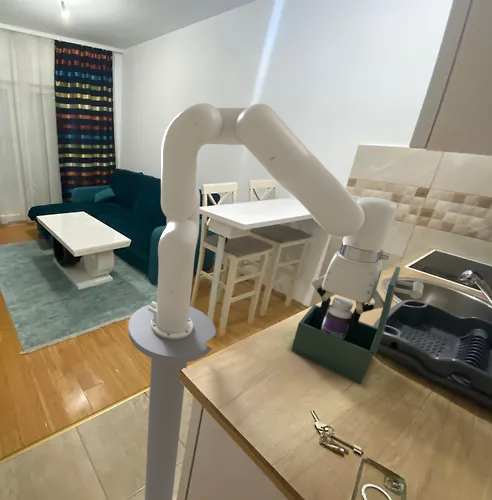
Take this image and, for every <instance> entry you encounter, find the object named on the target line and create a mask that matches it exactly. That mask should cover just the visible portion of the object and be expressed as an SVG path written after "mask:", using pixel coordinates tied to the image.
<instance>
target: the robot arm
mask: <svg viewBox="0 0 492 500" xmlns="http://www.w3.org/2000/svg"><path fill="white" fill-rule="evenodd" d="M204 145H205V146H206V145H225V146H226V145H227V146H233V145H234V146H241V145H242V146H244V147H245V148H246V149H247V150H248V151H249V153H251V154H252V156H253V157H254V158H255V159H256V160H257V161H258V162H259V163H260V165H261V166H262V167H263V168H264V169H265V170H266V171H267V172H268V173H269V175H270V176H271V178H273V179H274V180H275V181H276V182H277V183H278V185H280V186H281V187H282V188H283V189H284V190H286V191H287V192H288V193H290V194H291V195H292V196H293V197H294V198H295V199H296V200H297V201H298V202H299V203H300V204H301V205H302V206H303V207H304V208H305V209H306V210H307V211H308V213H309V214H310V216H311V218H312V219H313V221H314V222H315V223H316V224H317V225H319V226H320V227H321V228H322V229H323V230H324V231H325V232H326V233H327V234H329V235H331V236H334V237H339V238H343V239H342V242H341V244H340V248H339V250H337V251H336V252H335V253H334V255H333V256H332V258H331V261H330V262H329V265H328V267H327V270H326V272H325V274H324V275H321V276H319V277H318V278H316V279H313V280H312V281H311V285H312V287H314V288H315V290H316V292H317V293H318V295H319V297H320V298H321V304H320V310H322V313H321V315H325V314H326V311H327V308H328V306H329V305H331V301H332V299H331V296H332V295H336V296H338V297H341V298H344V299H347V300H350V301H354V302H355V308H354V310H353V311H352V313H353V314H352V317H351V320H350V323H349V325H350V326H351V327H352V326H353V324H354V323H358V321H360V318H361V315H362V314H363V313H366V312H370V311H373V310H377V309H383V305H384V301H385V300H384V299H383V297H382V296H381V295H380V293H379V291H378V290H377V288H378V286H379V282H380V278H381V275H382V269H383V262H382V261H383V260H385V261H388V260H389V257H390V253H386V252H385V251H384V247H385V245H386V241H387V238H388V237H389V233H390V231H391V227H392V225H393V222H394V219H395V217H396V214H397V211H398V205H397V203H396V202H395V201H393V200H390V199H386V198H381V197H368V196H365V197H358V196H357V197H356V196H353V195H352V194H351V192H349V190H347V188H346V187H345V186H344V184H343V183H342V182H340V180H338V179H337V177H335V175H333V173H331V171H330V170H329V169H328V168H326V166H325V165H324V164H323V163H322V162H321V160H320V159H318V158H317V156H315V154H313V153H312V151H311V150H310V149H309V148H308V147H307V146H306V145H305V144H304V143H303V141H301V139H300V138H299V137H298V136H297V135H296V134H295V132H294V131H293V130H292V129H291V128H290V127H289V126H288V124H287V123H286V122H285V121H284V119H283V118H281V116H280V115H279V114H278V112H276V111H275V110H274V109H273V108H272V107H271V106H269V105H268V104H265V103H254V104H252V105H250V106H247V107H215V106H213V105H212V104H210V103H206V102H201V103H196V104H193V105H191V106H189V107H187V108H185V109H184V110H182V111H180V113H179V114H177V115H176V116H175V117H174V118H173V120H171V122H170V124H169V126H167V128H166V129H165V133H164V136H163V139H162V143H161V166H160V169H161V170H160V172H161V173H160V206H161V207H160V208H161V211H162V213H163V215H164V216H165V217H166V228H165V229H163V232H162V234H161V235H160V238H159V241H158V246H157V257H158V269H157V270H158V271H157V272H158V273H157V297H156V302H155V301H151V303H150V304H149V305H150V306H151V307H149V308H148V310H149V311H150V312H152V313H153V314H154V316H153V318H152V320H151V328H152V330H153V331H154V332H155V333H156V334H157V335H159V336H161V337H163V338H166V339H182V338H185V337H187V336H189V335H190V334H191V332H192V330H193V323H192V321H191V319H190V318H189V308H190V306H191V297H192V287H193V279H194V269H195V268H194V267H195V257H196V256H195V255H196V250H197V249H196V248H197V245H198V239H199V233H200V213H201V212H200V210H201V209H200V208H201V193H200V189H199V187H198V185H197V168H198V153H199V151H200V150H201V148H202V147H203V146H204ZM381 260H382V261H381ZM372 300H373V302H371V301H372Z"/></svg>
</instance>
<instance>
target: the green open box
mask: <svg viewBox="0 0 492 500" xmlns="http://www.w3.org/2000/svg"><path fill="white" fill-rule="evenodd" d="M320 307H321V305H320V306H319V305H317V304H313V305H312V306H311V307H310V309H309V310H308V311H307V312H306V313H305V315H303V316H302V318H301V319H300V321H299V322H298V324H297V328H296V332H295V335H294V339H293V342H292V346H291V349H290V350H291V351H292V352H295V353H297V354H299V355H301V356H303V357H304V358H307V359H309V360H310V361H313V362H315V363H317V364H319V365H321V366H323V367H325V368H328V369H329V370H331V371H333V372H335V373H338V374H339V375H341V376H344V377H346V378H348V379H349V380H352V381H354V382H357V383H358V384H360V385H361V384H362V383H363V380H364V378H365V375H366V373H367V371H368V368H369V366H370V363H371V361H372V358H373V356H374V354H375V353H374V352H372V349H373V345H374V341H375V337H376V333H377V329H378V327H376V326H374V325H371V324H368V323H366V322H363V321H360V320H359V321H358V323H354V324H353V326H352V327H351V326H350V325H349V327H348V330H347V333H346V336H345V338H344V339H340V338H338V337H335V336H333V335H331V334H328V333H326V332H323V331H321V326H322V323H323V320H324V317H325V315H321V313H322V310H320Z"/></svg>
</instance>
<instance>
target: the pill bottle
mask: <svg viewBox="0 0 492 500" xmlns="http://www.w3.org/2000/svg"><path fill="white" fill-rule="evenodd" d="M353 306H354V303H353V302H352V300H350V299H348V298H345V297H341V296H337V297H334V298H333V300H332V303H330V304H329V306H328V308H327V311H326V314H325V317H324V320H323V323H322V326H321V331H323V332H326V333H328V334H331V335H333V336H335V337H338V338H340V339H344V338H345V336H346V333H347V330H348V327H349V323H350V320H351V317H352V314H353V310H352V308H353Z"/></svg>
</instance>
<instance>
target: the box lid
mask: <svg viewBox="0 0 492 500" xmlns="http://www.w3.org/2000/svg"><path fill="white" fill-rule="evenodd" d="M400 272H401V267H400V266H395V269H394V271H393V274H392V276H391V278H390V280H389V282H388V286H387V290H386V293H385V297H384V300H383V301H384V305H383V307H382V308H381V314H380V318H379V322H378V325H377V328H378V329H377V333H376V337H375V341H374V345H373V349H372V352H374V354H377V352H378V351H379V350H378V349H379V347H380V344H381V341H382V338H383V336H384V333H385V330H386V326H387V322H388V318H389V315H390V311H391V308H392V302H393V299H394V295H395V292H396V293H400V294H404V295H408V296H410V297H411V298H412V299H414V300H419V299H421V298H422V296H423V292H424V283H423V282H422V281H419V280H416V281H412V282H410V281H405V280H400V279H399V276H400ZM397 285H403V286H407V287H410V290H409V289H404V288H400V287H397Z"/></svg>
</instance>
